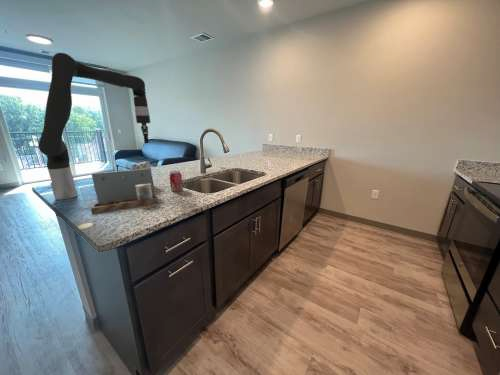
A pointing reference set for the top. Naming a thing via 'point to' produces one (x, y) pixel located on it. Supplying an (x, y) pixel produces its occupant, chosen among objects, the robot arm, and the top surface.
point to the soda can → (176, 181)
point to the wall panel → (120, 184)
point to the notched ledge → (121, 204)
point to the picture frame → (144, 191)
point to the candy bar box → (142, 167)
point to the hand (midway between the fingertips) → (146, 142)
